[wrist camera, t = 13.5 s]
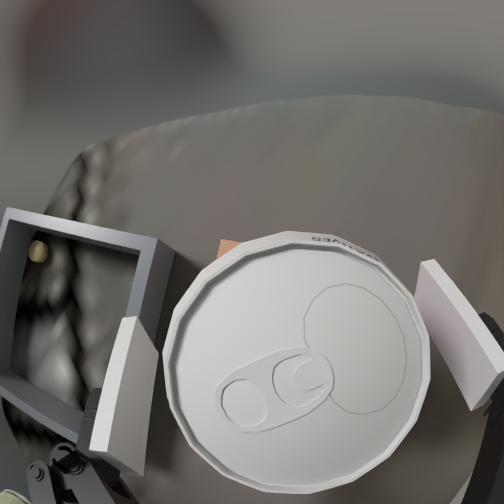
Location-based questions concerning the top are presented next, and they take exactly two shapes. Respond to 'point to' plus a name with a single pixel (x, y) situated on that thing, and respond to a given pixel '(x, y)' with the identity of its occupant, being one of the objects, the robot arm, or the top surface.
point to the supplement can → (296, 362)
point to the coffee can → (12, 498)
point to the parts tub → (15, 255)
